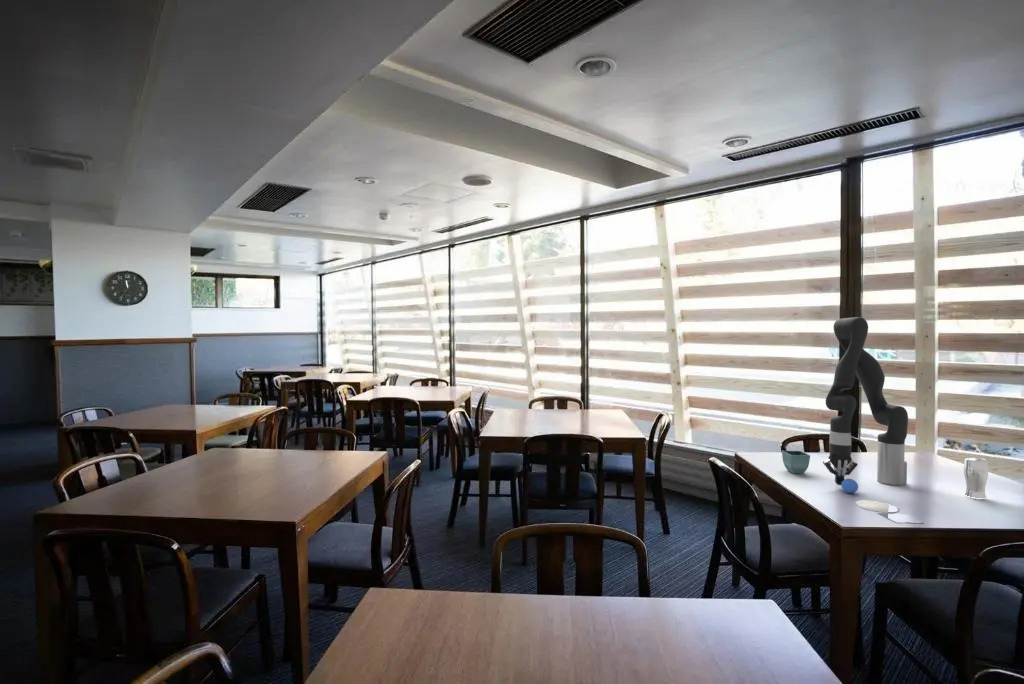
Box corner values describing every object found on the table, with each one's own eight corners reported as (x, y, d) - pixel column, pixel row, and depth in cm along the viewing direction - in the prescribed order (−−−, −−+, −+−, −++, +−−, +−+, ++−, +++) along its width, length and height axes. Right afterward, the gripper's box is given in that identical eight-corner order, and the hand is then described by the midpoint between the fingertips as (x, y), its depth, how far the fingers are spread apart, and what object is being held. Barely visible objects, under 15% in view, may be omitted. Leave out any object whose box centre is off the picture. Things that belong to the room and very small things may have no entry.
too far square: (904, 514, 179) (904, 513, 179) (923, 523, 170) (923, 522, 170) (877, 513, 179) (877, 513, 179) (896, 523, 170) (896, 522, 170)
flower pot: (810, 475, 228) (810, 455, 228) (790, 474, 228) (791, 455, 228) (800, 469, 237) (800, 450, 237) (781, 469, 237) (781, 450, 237)
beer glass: (984, 501, 192) (985, 462, 191) (960, 496, 197) (961, 458, 197) (990, 498, 195) (990, 459, 195) (966, 493, 201) (967, 456, 201)
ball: (852, 490, 205) (852, 477, 205) (861, 495, 200) (861, 481, 199) (838, 490, 205) (838, 476, 205) (846, 495, 200) (846, 480, 200)
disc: (882, 500, 193) (882, 500, 193) (907, 513, 180) (907, 512, 180) (847, 500, 193) (847, 500, 193) (870, 512, 180) (870, 512, 180)
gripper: (828, 444, 205) (827, 487, 205) (862, 445, 204) (862, 487, 204) (818, 440, 212) (818, 481, 212) (851, 441, 211) (851, 482, 211)
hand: (839, 484), depth 208 cm, fingers closed
